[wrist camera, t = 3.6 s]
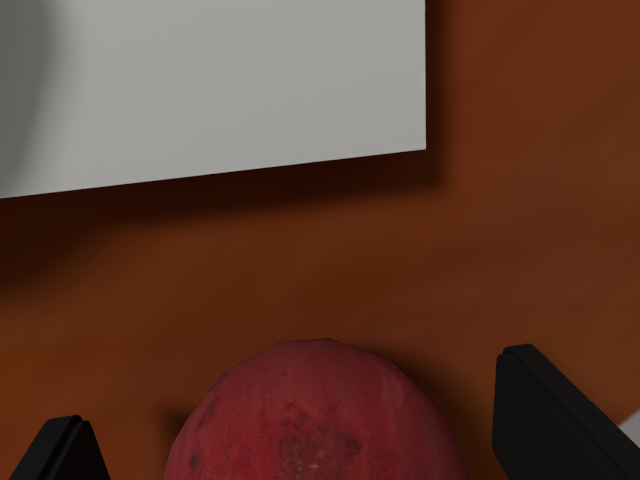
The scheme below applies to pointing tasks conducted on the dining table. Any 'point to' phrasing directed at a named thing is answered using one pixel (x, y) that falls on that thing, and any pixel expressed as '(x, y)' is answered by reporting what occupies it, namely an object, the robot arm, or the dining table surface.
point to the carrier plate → (202, 87)
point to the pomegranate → (315, 421)
